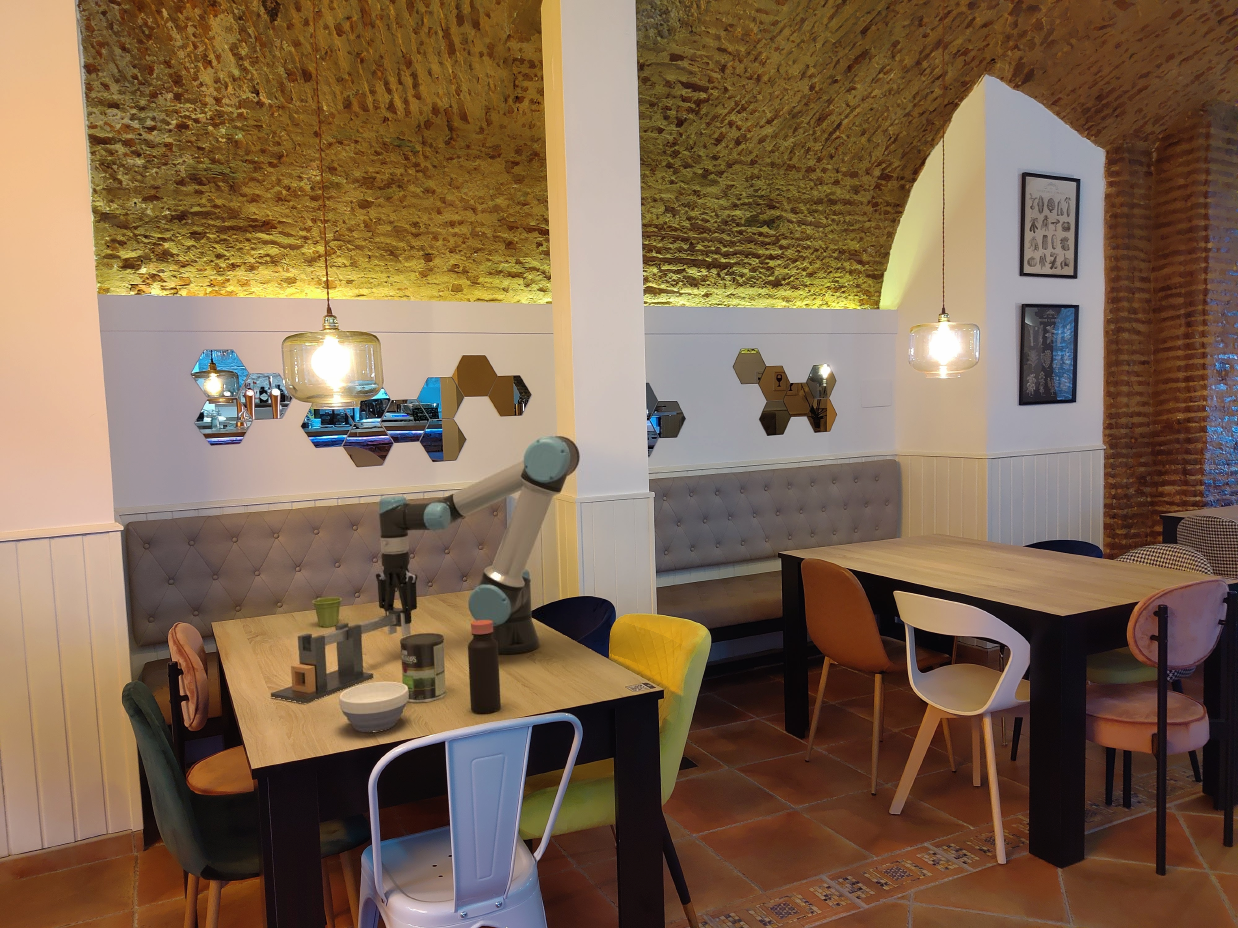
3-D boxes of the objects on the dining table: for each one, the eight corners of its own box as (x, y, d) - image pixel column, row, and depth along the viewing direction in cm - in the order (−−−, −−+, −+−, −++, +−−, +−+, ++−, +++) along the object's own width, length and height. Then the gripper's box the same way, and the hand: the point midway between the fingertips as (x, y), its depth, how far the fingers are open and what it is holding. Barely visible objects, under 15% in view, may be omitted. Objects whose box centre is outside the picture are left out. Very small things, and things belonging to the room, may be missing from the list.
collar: (315, 690, 205) (314, 666, 205) (309, 692, 203) (308, 668, 203) (298, 687, 208) (297, 663, 208) (292, 689, 206) (291, 665, 206)
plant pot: (312, 624, 283) (311, 599, 283) (341, 620, 287) (340, 595, 286) (314, 630, 274) (313, 604, 274) (344, 626, 278) (343, 600, 278)
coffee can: (417, 706, 194) (414, 646, 193) (394, 696, 201) (391, 639, 201) (455, 694, 201) (452, 637, 200) (431, 686, 208) (429, 630, 208)
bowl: (423, 723, 182) (421, 688, 182) (364, 743, 171) (362, 707, 171) (386, 709, 192) (384, 677, 192) (328, 728, 181) (326, 694, 181)
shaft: (408, 624, 234) (407, 608, 234) (323, 651, 208) (322, 634, 208) (396, 623, 237) (395, 607, 236) (311, 649, 210) (310, 632, 210)
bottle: (479, 716, 185) (474, 627, 184) (465, 708, 190) (461, 622, 190) (506, 709, 189) (502, 622, 188) (492, 702, 194) (488, 617, 194)
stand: (373, 678, 218) (370, 624, 217) (305, 704, 198) (301, 646, 198) (340, 673, 223) (337, 621, 223) (271, 697, 204) (267, 641, 203)
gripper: (362, 552, 234) (366, 634, 235) (409, 555, 226) (413, 640, 227) (381, 548, 241) (385, 628, 242) (428, 550, 232) (432, 633, 233)
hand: (399, 634), depth 234 cm, fingers closed on shaft, 4 cm apart
